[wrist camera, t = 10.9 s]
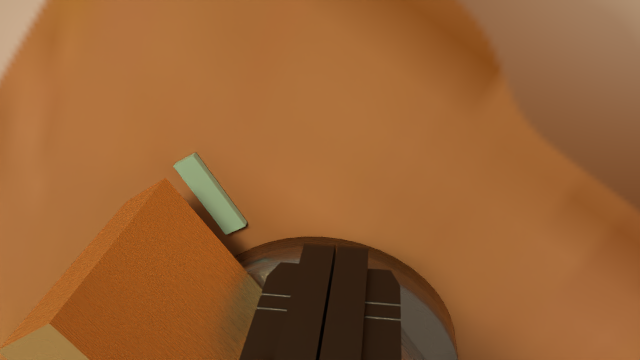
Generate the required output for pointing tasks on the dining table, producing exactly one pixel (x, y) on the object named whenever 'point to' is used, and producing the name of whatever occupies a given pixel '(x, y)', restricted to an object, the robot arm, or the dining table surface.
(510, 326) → the dining table surface
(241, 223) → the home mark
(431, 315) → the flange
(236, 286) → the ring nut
